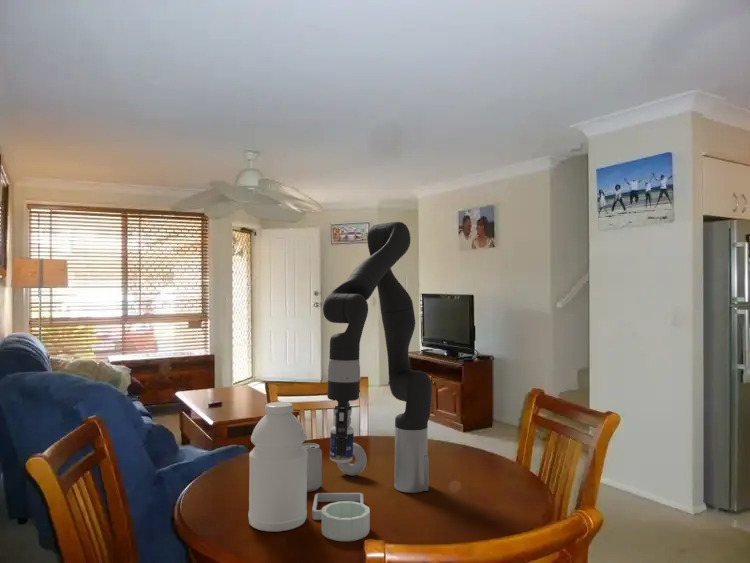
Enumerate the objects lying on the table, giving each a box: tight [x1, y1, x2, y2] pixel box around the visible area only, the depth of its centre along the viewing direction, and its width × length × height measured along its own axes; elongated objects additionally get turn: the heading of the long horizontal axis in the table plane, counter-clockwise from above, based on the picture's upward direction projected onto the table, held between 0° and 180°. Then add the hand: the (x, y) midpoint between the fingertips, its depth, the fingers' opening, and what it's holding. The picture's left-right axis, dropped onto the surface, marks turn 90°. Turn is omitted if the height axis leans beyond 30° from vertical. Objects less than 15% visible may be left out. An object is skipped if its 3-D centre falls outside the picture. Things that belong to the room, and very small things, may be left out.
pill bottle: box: [329, 416, 355, 463], centre depth 133 cm, size 5×5×10 cm
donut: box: [335, 442, 368, 477], centre depth 172 cm, size 10×4×10 cm, turn 68°
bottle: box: [247, 401, 308, 532], centre depth 137 cm, size 14×14×28 cm
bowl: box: [320, 501, 371, 542], centre depth 132 cm, size 11×11×5 cm
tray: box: [311, 492, 364, 521], centre depth 144 cm, size 13×13×2 cm
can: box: [302, 442, 323, 493], centre depth 160 cm, size 8×8×12 cm
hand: (341, 451), depth 133 cm, fingers closed on pill bottle, 5 cm apart
